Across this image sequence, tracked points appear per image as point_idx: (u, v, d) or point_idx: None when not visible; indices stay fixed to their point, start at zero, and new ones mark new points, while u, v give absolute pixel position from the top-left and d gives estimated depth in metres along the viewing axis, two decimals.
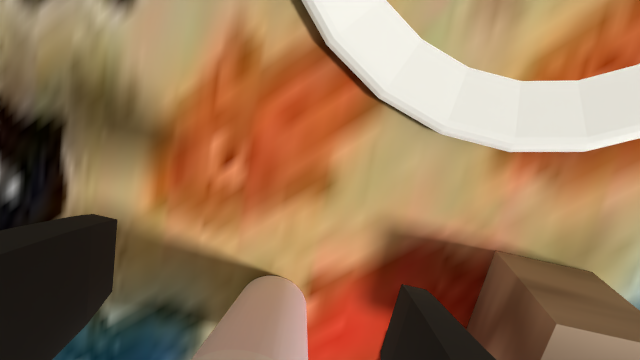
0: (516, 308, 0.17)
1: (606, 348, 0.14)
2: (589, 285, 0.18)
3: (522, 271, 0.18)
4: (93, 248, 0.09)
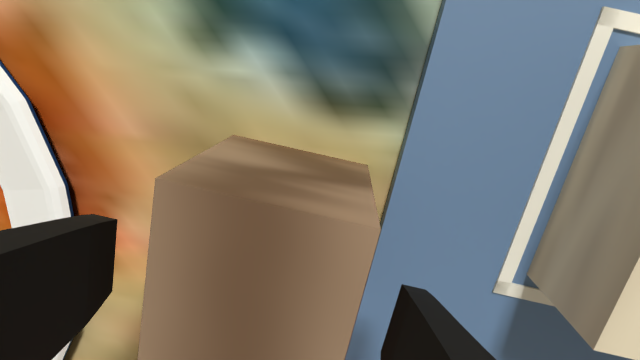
0: None
1: (164, 299, 0.09)
2: None
3: None
4: (93, 248, 0.09)
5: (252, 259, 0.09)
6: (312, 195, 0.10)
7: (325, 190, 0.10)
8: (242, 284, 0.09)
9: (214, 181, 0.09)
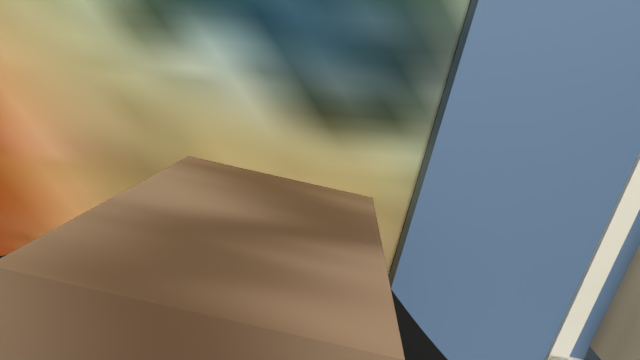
0: None
1: None
2: None
3: None
4: None
5: None
6: (285, 276, 0.06)
7: (308, 261, 0.06)
8: None
9: (111, 258, 0.05)
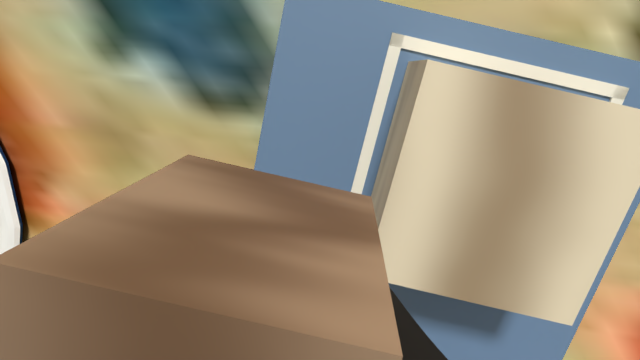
0: None
1: None
2: None
3: None
4: None
5: None
6: (284, 273, 0.06)
7: (307, 259, 0.06)
8: None
9: (111, 256, 0.05)
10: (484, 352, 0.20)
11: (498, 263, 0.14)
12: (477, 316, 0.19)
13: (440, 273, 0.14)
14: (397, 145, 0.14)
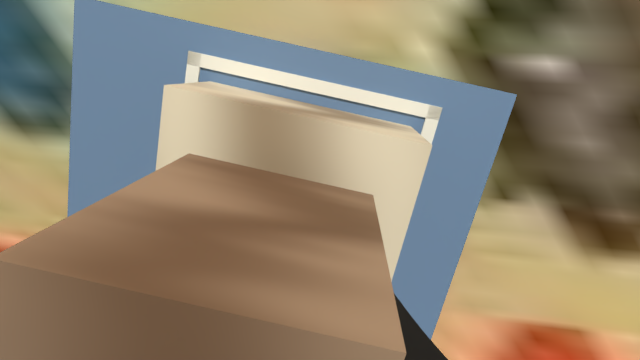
0: None
1: None
2: None
3: None
4: None
5: None
6: (286, 270, 0.06)
7: (309, 256, 0.06)
8: None
9: (113, 253, 0.05)
10: None
11: None
12: None
13: None
14: None
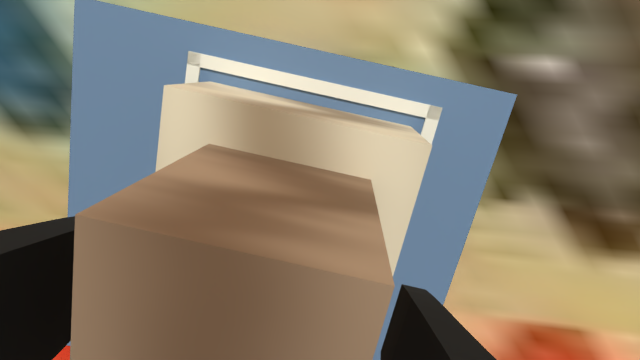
0: None
1: None
2: None
3: None
4: None
5: (216, 324, 0.06)
6: (300, 231, 0.07)
7: (317, 222, 0.08)
8: (203, 357, 0.07)
9: (164, 214, 0.07)
10: None
11: None
12: None
13: None
14: None
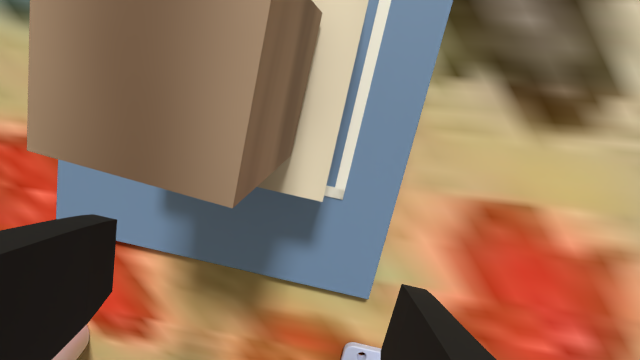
0: None
1: (50, 66, 0.08)
2: None
3: None
4: (93, 248, 0.09)
5: (139, 8, 0.08)
6: None
7: None
8: (130, 42, 0.08)
9: None
10: (302, 262, 0.20)
11: None
12: (290, 224, 0.20)
13: None
14: None
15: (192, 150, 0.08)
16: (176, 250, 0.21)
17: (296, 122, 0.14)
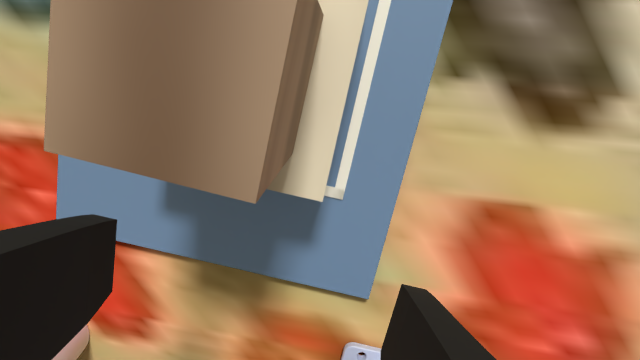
0: None
1: (71, 66, 0.08)
2: None
3: None
4: (93, 248, 0.09)
5: (165, 9, 0.08)
6: None
7: None
8: (154, 42, 0.08)
9: None
10: (302, 262, 0.20)
11: None
12: (290, 224, 0.20)
13: None
14: None
15: (216, 147, 0.09)
16: (176, 250, 0.21)
17: (298, 121, 0.14)
